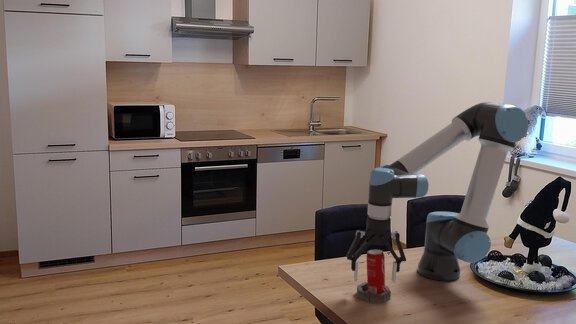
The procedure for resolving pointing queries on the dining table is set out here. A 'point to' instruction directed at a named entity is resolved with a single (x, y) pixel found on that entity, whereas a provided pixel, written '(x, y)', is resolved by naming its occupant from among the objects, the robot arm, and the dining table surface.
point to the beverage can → (376, 271)
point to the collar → (376, 298)
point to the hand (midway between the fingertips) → (374, 280)
